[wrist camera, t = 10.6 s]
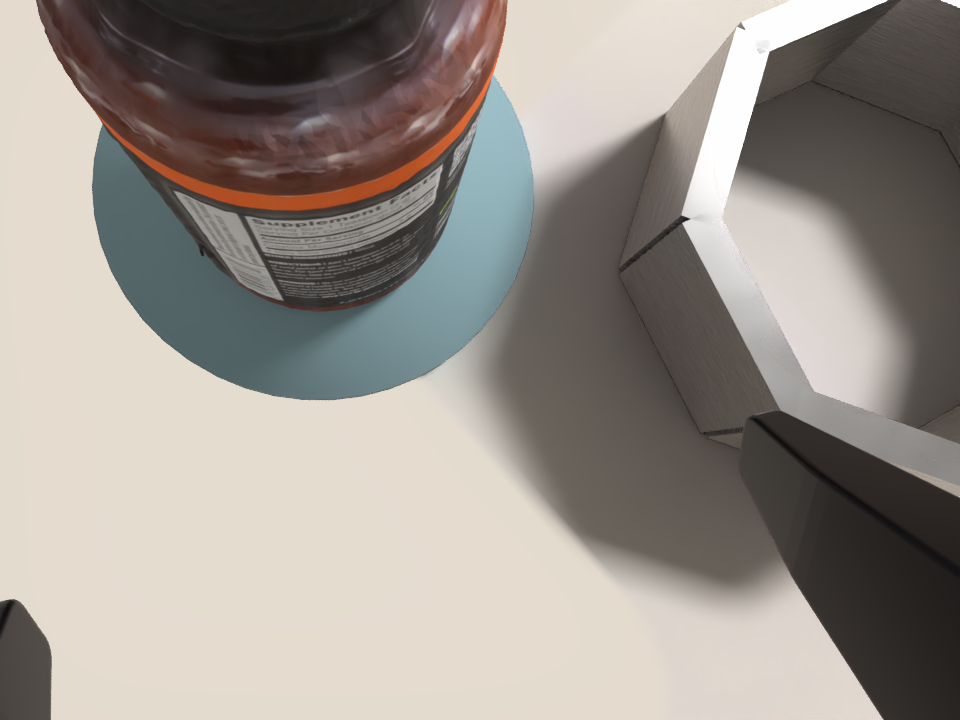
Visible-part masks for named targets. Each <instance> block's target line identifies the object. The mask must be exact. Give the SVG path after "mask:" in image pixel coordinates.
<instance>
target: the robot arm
mask: <svg viewBox="0 0 960 720" xmlns="http://www.w3.org/2000/svg"><path fill="white" fill-rule="evenodd" d="M738 465H739V471H740V474H741V477H742V479H743V481H744V483H745V485H746V487H747V489H748V491H749V493H750V495H751V497H752V499H753V501H754V503H755V505H756V507H757V509H758V511H759V513H760V515H761V517H762V519H763V521H764V523H765V525H766V527H767V529H768V531H769V533H770V535H771V537H772V539H773V541H774V543H775V545H776V547H777V549H778V551H779V553H780V555H781V557H782V559H783V561H784V563H785V565H786V567H787V569H788V571H789V572H790V574H791V576H792V578H793V579H794V581H795V583H796V584H797V586H798V588H799V589H800V591H801V592H802V594H803V596H804V597H805V599H806V600H807V602H808V603H809V605H810V606H811V608H812V610H813V611H814V613H815V614H816V616H817V617H818V619H819V620H820V622H821V624H822V625H823V627H824V628H825V630H826V631H827V633H828V634H829V636H830V638H831V639H832V641H833V642H834V644H835V645H836V647H837V648H838V650H839V652H840V653H841V655H842V656H843V658H844V659H845V661H846V662H847V664H848V666H849V667H850V669H851V670H852V672H853V673H854V675H855V676H856V678H857V679H858V681H859V683H860V684H861V686H862V687H863V689H864V690H865V692H866V693H867V695H868V697H869V698H870V700H871V701H872V703H873V704H874V706H875V707H876V709H877V711H878V712H879V714H880V715H881V717H882V718H883V720H960V497H958V496H956V495H954V494H952V493H950V492H947V491H945V490H943V489H941V488H939V487H937V486H935V485H933V484H931V483H929V482H927V481H925V480H923V479H921V478H919V477H917V476H915V475H913V474H911V473H909V472H906V471H904V470H902V469H900V468H898V467H896V466H894V465H892V464H890V463H888V462H886V461H884V460H882V459H880V458H878V457H876V456H874V455H872V454H870V453H868V452H865V451H863V450H861V449H859V448H857V447H855V446H853V445H851V444H849V443H847V442H845V441H843V440H841V439H839V438H837V437H835V436H833V435H831V434H829V433H827V432H824V431H822V430H820V429H818V428H816V427H814V426H812V425H810V424H808V423H806V422H804V421H802V420H800V419H798V418H796V417H794V416H792V415H790V414H788V413H786V412H783V411H780V410H770V411H766V412H762V413H758V414H754V415H751V416H749V417H748V419H747V420H746V421H745V425H744V430H743V436H742V441H741V447H740V453H739V458H738ZM51 659H52V658H51V650H50V646H49V643H48V641H47V639H46V637H45V636H44V634H43V633H42V631H41V630H40V628H39V627H38V626H37V624H36V623H35V621H34V620H33V618H32V617H31V616H30V614H29V613H28V611H27V610H26V608H25V607H24V606H23V605H22V604H21V602H19V601H17V600H14V599H13V600H5V601H2V602H0V720H51V668H52V663H51V662H52V660H51Z"/></svg>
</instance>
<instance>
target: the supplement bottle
mask: <svg viewBox="0 0 960 720" xmlns="http://www.w3.org/2000/svg"><path fill="white" fill-rule="evenodd" d="M36 2H37V6H38V12H39V16H40V19H41V22H42V23H43V25H44V27H45V33H46V35H47V37H48V39H49V42H50V44H51V46H52V48H53V51H54V52H55V54H56V56H57V58H58V60H59V61H60V62H61V64H62V65H63V68H64V70H65V71H66V73H67V74H68V76H69V77H70V78H71V80H72V81H73V83H74V85H75V86H76V88H77V89H78V91H79V92H80V93H81V95H82V96H83V97H84V98H85V99H86V101H87V102H88V103H89V104H90V106H91V107H92V108H93V110H94V111H95V112H96V114H97V115H98V117H99V118H100V120H101V122H102V123H103V125H104V127H105V129H106V131H107V132H108V134H109V135H110V136H111V137H112V138H113V139H114V140H115V141H117V142H118V143H119V145H120V146H121V148H122V149H123V150H124V152H125V153H126V154H127V155H128V156H129V158H130V159H131V160H132V161H133V163H134V164H135V165H136V166H137V167H138V169H139V170H140V171H141V173H142V174H143V175H144V177H145V178H146V179H147V181H148V182H149V183H150V185H151V186H152V188H154V189H155V190H156V191H157V192H158V194H159V195H160V196H161V197H162V199H163V200H164V201H165V203H166V204H167V206H168V207H169V208H170V209H171V210H172V212H173V213H174V215H175V216H176V217H177V218H178V219H179V221H180V222H181V223H182V224H183V226H184V227H185V229H186V231H187V232H188V233H189V234H190V235H191V236H192V237H193V239H194V241H195V242H196V244H197V245H198V247H199V251H200V253H201V256H204V253H205V254H206V255H207V257H209V259H210V260H211V261H212V262H213V263H214V265H215V266H216V267H217V268H218V269H219V270H220V271H222V272H223V273H224V274H225V275H227V276H228V277H229V278H231V279H232V280H233V281H235V282H236V283H237V284H238V285H239V286H241V287H243V288H245V289H246V290H248V291H250V292H251V293H253V294H255V295H256V296H258V297H261V298H263V299H265V300H267V301H270V302H272V303H276V304H278V305H283V306H285V307H288V308H291V309H298V310H306V311H324V312H325V311H335V310H345V309H349V308H353V307H357V306H361V305H364V304H367V303H370V302H372V301H374V300H376V299H378V298H380V297H383V296H385V295H387V294H388V293H390V292H391V291H394V290H395V289H397V288H398V287H399V286H401V285H402V284H403V283H405V282H406V281H407V280H409V279H410V278H411V277H412V276H413V275H414V274H415V273H416V272H417V271H418V270H419V268H420V267H421V266H422V265H423V264H424V262H425V261H426V260H427V259H428V257H429V256H430V254H431V253H432V251H433V250H434V248H435V247H436V245H437V243H438V241H439V239H440V238H441V236H442V234H443V232H444V229H445V227H446V225H447V222H448V219H449V216H450V214H451V211H452V207H453V204H454V201H455V197H456V194H457V191H458V188H459V184H460V181H461V178H462V175H463V172H464V169H465V166H466V163H467V159H468V156H469V153H470V150H471V147H472V143H473V140H474V137H475V134H476V129H477V126H478V123H479V119H480V116H481V112H482V109H483V106H484V103H485V100H486V96H487V93H488V90H489V87H490V84H491V79H492V75H493V72H494V69H495V66H496V63H497V59H498V56H499V52H500V49H501V45H502V41H503V36H504V30H505V25H506V12H507V0H36Z"/></svg>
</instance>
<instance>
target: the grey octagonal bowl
mask: <svg viewBox="0 0 960 720" xmlns="http://www.w3.org/2000/svg"><path fill="white" fill-rule="evenodd" d="M810 81H814V82H817V83H819V84H822V85H824V86H827V87H830V88H832V89H835V90H837V91H840V92H842V93H845V94H847V95H850V96H852V97H855V98H857V99H860V100H862V101H865V102H867V103H870V104H872V105H875V106H877V107H880V108H883V109H885V110H888V111H890V112H893V113H895V114H898V115H900V116H903V117H905V118H908V119H910V120H913V121H915V122H918V123H920V124H923V125H925V126H928V127H930V128H933V129H936V130H938V131H941V133H942V135H943V137H944V139H945V140H946V142H947V144H948V146H949V147H950V149H951V151H952V153H953V155H954V156H955V158H956V160H957V162H958V164H959V165H960V0H792V1H790V2H787V3H785V4H782V5H780V6H778V7H775V8H773V9H771V10H768V11H766V12H763V13H761V14H759V15H756V16H754V17H752V18H749V19H747V20H744V21H742V22H741V23H740V24H739V25H738V26H737V27H736V28H735V30H734V31H733V32H732V33H731V34H730V36H729V37H728V38H727V39H726V41H725V42H724V43H723V44H722V46H721V47H720V48H719V49H718V50H717V52H716V53H715V54H714V55H713V57H712V58H711V59H710V60H709V62H708V63H707V64H706V65H705V66H704V68H703V69H702V70H701V71H700V73H699V74H698V75H697V76H696V78H695V79H694V80H693V81H692V82H691V84H690V85H689V86H688V87H687V89H686V90H685V91H684V92H683V94H682V95H681V96H680V97H679V98H678V100H677V101H676V102H675V103H674V105H673V106H672V107H671V108H670V110H669V111H668V112H667V113H666V114H665V117H664V120H663V124H662V127H661V130H660V133H659V137H658V140H657V143H656V147H655V150H654V153H653V156H652V160H651V163H650V166H649V169H648V173H647V176H646V179H645V182H644V186H643V189H642V192H641V195H640V199H639V202H638V205H637V208H636V212H635V215H634V218H633V222H632V225H631V228H630V231H629V235H628V238H627V241H626V244H625V248H624V251H623V254H622V257H621V261H620V264H619V267H618V269H621V270H624V271H623V272H622V273H620V274H619V276H620V278H621V280H622V282H623V284H624V286H625V288H626V290H627V292H628V294H629V295H630V297H631V299H632V301H633V303H634V305H635V307H636V309H637V311H638V313H639V315H640V317H641V319H642V321H643V323H644V325H645V326H646V328H647V330H648V332H649V334H650V336H651V338H652V340H653V342H654V344H655V346H656V348H657V350H658V352H659V354H660V355H661V357H662V359H663V361H664V363H665V365H666V367H667V369H668V371H669V373H670V375H671V377H672V379H673V381H674V383H675V385H676V386H677V388H678V390H679V392H680V394H681V396H682V398H683V400H684V402H685V404H686V406H687V408H688V410H689V412H690V414H691V415H692V417H693V419H694V421H695V423H696V425H697V427H698V429H699V431H700V433H702V432H707V433H706V438H709V439H712V440H715V441H718V442H721V443H724V444H726V445H729V446H732V447H735V448H738V449H740V447H741V441H742V436H743V430H744V425H745V421H746V420H747V419H748V417H749V416H751V415H754V414H758V413H762V412H766V411H770V410H780V411H783V412H786V413H788V414H790V415H792V416H794V417H796V418H798V419H800V420H802V421H804V422H806V423H808V424H810V425H812V426H814V427H816V428H818V429H820V430H822V431H824V432H827V433H829V434H831V435H833V436H835V437H837V438H839V439H841V440H843V441H845V442H847V443H849V444H851V445H853V446H855V447H857V448H859V449H861V450H863V451H865V452H868V453H870V454H872V455H874V456H876V457H878V458H880V459H882V460H884V461H886V462H888V463H890V464H892V465H894V466H896V467H898V468H900V469H902V470H904V471H906V472H909V473H911V474H913V475H915V476H917V477H919V478H921V479H923V480H925V481H927V482H929V483H931V484H933V485H935V486H937V487H939V488H941V489H943V490H945V491H947V492H950V493H952V494H954V495H956V496H958V497H960V405H959V406H957V407H956V408H954V409H952V410H950V411H949V412H947V413H945V414H943V415H941V416H940V417H938V418H936V419H934V420H933V421H931V422H929V423H927V424H926V425H924V426H922V427H920V428H918V429H916V428H914V427H911V426H908V425H905V424H903V423H900V422H897V421H894V420H891V419H889V418H886V417H883V416H880V415H878V414H875V413H872V412H869V411H867V410H864V409H861V408H858V407H855V406H853V405H850V404H847V403H844V402H842V401H839V400H836V399H833V398H830V397H828V396H825V395H822V394H819V393H817V392H814V391H813V389H812V387H811V385H810V383H809V381H808V379H807V378H806V376H805V374H804V372H803V370H802V368H801V366H800V364H799V362H798V361H797V359H796V357H795V355H794V353H793V351H792V349H791V347H790V346H789V344H788V342H787V340H786V338H785V336H784V334H783V332H782V330H781V329H780V327H779V325H778V323H777V321H776V319H775V317H774V315H773V313H772V312H771V310H770V308H769V306H768V304H767V302H766V300H765V298H764V296H763V295H762V293H761V291H760V289H759V287H758V285H757V283H756V281H755V280H754V278H753V276H752V274H751V272H750V270H749V268H748V266H747V264H746V263H745V261H744V259H743V257H742V255H741V253H740V251H739V249H738V247H737V246H736V244H735V242H734V240H733V238H732V236H731V234H730V232H729V230H728V229H727V227H726V225H725V223H724V221H723V219H722V216H723V212H724V209H725V205H726V202H727V198H728V195H729V191H730V188H731V184H732V181H733V177H734V174H735V170H736V166H737V163H738V159H739V156H740V152H741V149H742V145H743V142H744V138H745V135H746V131H747V128H748V124H749V121H750V117H751V114H752V110H753V107H754V106H756V105H758V104H761V103H763V102H765V101H767V100H769V99H772V98H774V97H776V96H778V95H781V94H783V93H785V92H787V91H790V90H792V89H794V88H796V87H799V86H801V85H803V84H805V83H808V82H810Z"/></svg>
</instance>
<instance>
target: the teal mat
mask: <svg viewBox="0 0 960 720" xmlns="http://www.w3.org/2000/svg"><path fill="white" fill-rule="evenodd" d="M92 191H93V204H94V216H95V221H96V225H97V229H98V234H99V238H100V243H101V246H102V248H103V251H104V254H105V256H106V259H107V261H108V264H109V267H110V269H111V272H112V273H113V275H114V277H115V279H116V281H117V282H118V284H119V286H120V287H121V290H122V291H123V293H124V295H125V296H126V298H127V299H128V300H129V302H130V303H131V305H132V306H133V307H134V309H135V310H136V311H137V313H138V314H139V315H140V317H141V318H142V319H143V320H144V321H145V322H146V323H147V324H148V325H149V326H150V327H151V329H152V330H153V331H155V332H156V333H157V335H158V336H160V337H161V339H162V340H163V341H165V342H166V343H167V344H168V345H170V346H171V347H172V348H174V349H175V350H176V351H178V352H179V353H180V354H182V355H183V356H184V357H185V358H187V359H188V360H190V361H191V362H193V363H194V364H196V365H198V366H200V367H201V368H203V369H205V370H207V371H208V372H210V373H212V374H214V375H215V376H217V377H219V378H222V379H224V380H227V381H229V382H231V383H234V384H236V385H239V386H241V387H244V388H247V389H250V390H254V391H258V392H261V393H265V394H269V395H272V396H278V397H286V398H294V399H301V400H336V399H344V398H352V397H360V396H365V395H369V394H373V393H376V392H380V391H384V390H388V389H391V388H393V387H396V386H398V385H401V384H404V383H406V382H409V381H411V380H414V379H416V378H418V377H419V376H421V375H423V374H425V373H427V372H428V371H430V370H432V369H434V368H436V367H437V366H439V365H441V364H442V363H443V362H445V361H446V360H447V359H449V358H450V357H451V356H453V355H454V354H455V353H457V352H458V351H459V350H461V349H462V348H463V347H464V346H465V345H466V344H467V343H468V342H469V341H470V340H471V339H472V338H473V337H474V336H475V335H476V334H477V333H478V332H479V331H480V330H481V329H482V328H483V327H484V325H485V324H486V323H487V322H488V320H489V319H490V318H491V316H492V315H493V314H494V313H495V311H496V310H497V309H498V307H499V306H500V305H501V303H502V301H503V299H504V298H505V296H506V294H507V293H508V291H509V289H510V287H511V286H512V284H513V282H514V280H515V278H516V275H517V273H518V270H519V268H520V265H521V263H522V261H523V258H524V255H525V251H526V247H527V243H528V239H529V236H530V232H531V224H532V215H533V207H534V194H533V174H532V168H531V161H530V154H529V150H528V147H527V143H526V140H525V137H524V133H523V130H522V127H521V125H520V122H519V120H518V118H517V115H516V113H515V111H514V109H513V106H512V104H511V102H510V101H509V99H508V97H507V96H506V94H505V92H504V91H503V89H502V87H501V86H500V84H499V82H498V81H497V79H496V78H495V77H494V76H493V75H492V79H491V84H490V87H489V90H488V93H487V96H486V100H485V103H484V106H483V109H482V112H481V116H480V119H479V123H478V126H477V129H476V134H475V137H474V140H473V143H472V147H471V150H470V153H469V156H468V159H467V163H466V166H465V169H464V172H463V175H462V178H461V181H460V184H459V188H458V191H457V194H456V197H455V201H454V204H453V207H452V211H451V214H450V216H449V219H448V222H447V225H446V227H445V229H444V232H443V234H442V236H441V238H440V239H439V241H438V243H437V245H436V247H435V248H434V250H433V251H432V253H431V254H430V256H429V257H428V259H427V260H426V261H425V262H424V264H423V265H422V266H421V267H420V268H419V270H418V271H417V272H416V273H415V274H414V275H413V276H412V277H411V278H410V279H409V280H407V281H406V282H405V283H403V284H402V285H401V286H399V287H398V288H397V289H395V290H394V291H391V292H390V293H388V294H387V295H385V296H383V297H380V298H378V299H376V300H374V301H372V302H370V303H367V304H364V305H361V306H357V307H353V308H349V309H345V310H335V311H325V312H324V311H306V310H298V309H291V308H288V307H285V306H283V305H278V304H276V303H272V302H270V301H267V300H265V299H263V298H261V297H258V296H256V295H255V294H253V293H251V292H250V291H248V290H246V289H245V288H243V287H241V286H239V285H238V284H237V283H236V282H235V281H233V280H232V279H231V278H229V277H228V276H227V275H225V274H224V273H223V272H222V271H220V270H219V269H218V268H217V267H216V266H215V265H214V263H213V262H212V261H211V260H210V259H209V257H207V255H206V254H205V253H204V256H201V253H200V251H199V247H198V245H197V244H196V242H195V241H194V239H193V237H192V236H191V235H190V234H189V233H188V232H187V231H186V229H185V227H184V226H183V224H182V223H181V222H180V221H179V219H178V218H177V217H176V216H175V215H174V213H173V212H172V210H171V209H170V208H169V207H168V206H167V204H166V203H165V201H164V200H163V199H162V197H161V196H160V195H159V194H158V192H157V191H156V190H155V189H154V188H152V186H151V185H150V183H149V182H148V181H147V179H146V178H145V177H144V175H143V174H142V173H141V171H140V170H139V169H138V167H137V166H136V165H135V164H134V163H133V161H132V160H131V159H130V158H129V156H128V155H127V154H126V153H125V152H124V150H123V149H122V148H121V146H120V145H119V143H118V142H117V141H115V140H114V139H113V138H112V137H111V136H110V135H109V134H108V132H107V131H106V129H105V127H104V125H103V126H102V128H101V131H100V134H99V139H98V143H97V148H96V153H95V157H94V168H93V183H92Z"/></svg>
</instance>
